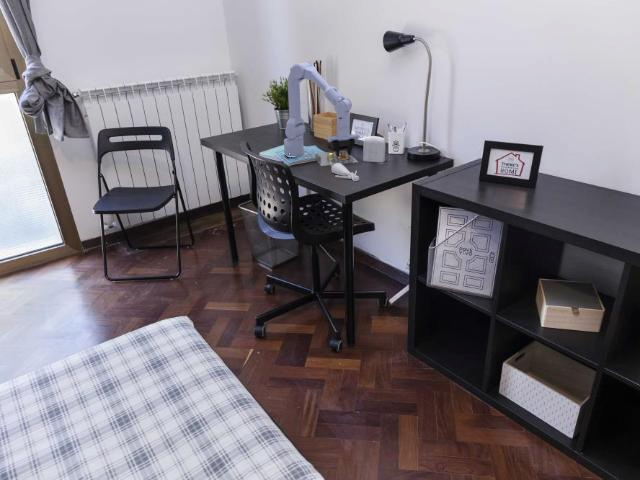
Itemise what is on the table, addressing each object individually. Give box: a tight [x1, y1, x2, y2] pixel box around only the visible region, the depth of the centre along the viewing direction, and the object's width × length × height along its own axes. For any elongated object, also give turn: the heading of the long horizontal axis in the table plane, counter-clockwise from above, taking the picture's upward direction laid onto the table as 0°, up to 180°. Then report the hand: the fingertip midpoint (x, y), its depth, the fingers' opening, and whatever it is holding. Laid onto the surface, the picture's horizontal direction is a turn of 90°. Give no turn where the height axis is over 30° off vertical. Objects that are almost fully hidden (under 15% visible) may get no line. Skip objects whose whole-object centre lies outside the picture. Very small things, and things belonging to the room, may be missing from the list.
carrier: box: [310, 150, 359, 167], centre depth 229 cm, size 18×20×4 cm
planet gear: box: [338, 150, 348, 160], centre depth 225 cm, size 5×5×4 cm
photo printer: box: [362, 135, 386, 165], centre depth 222 cm, size 10×4×12 cm, turn 73°
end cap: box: [326, 138, 348, 150], centre depth 245 cm, size 10×7×7 cm
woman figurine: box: [330, 163, 360, 182], centre depth 208 cm, size 12×4×18 cm
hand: (343, 155), depth 225 cm, fingers open, 5 cm apart
